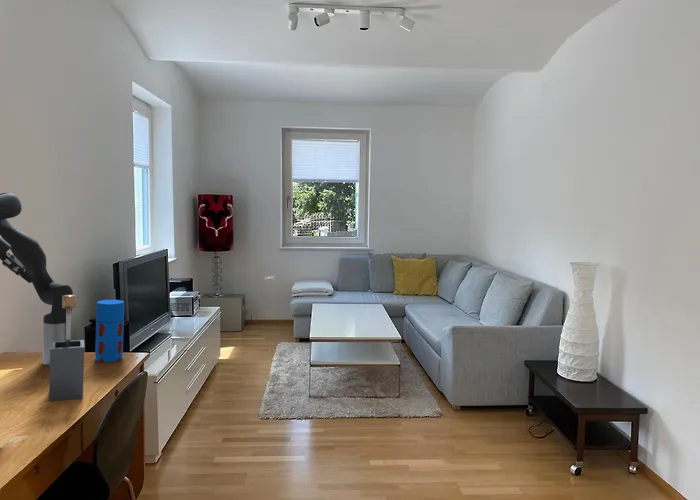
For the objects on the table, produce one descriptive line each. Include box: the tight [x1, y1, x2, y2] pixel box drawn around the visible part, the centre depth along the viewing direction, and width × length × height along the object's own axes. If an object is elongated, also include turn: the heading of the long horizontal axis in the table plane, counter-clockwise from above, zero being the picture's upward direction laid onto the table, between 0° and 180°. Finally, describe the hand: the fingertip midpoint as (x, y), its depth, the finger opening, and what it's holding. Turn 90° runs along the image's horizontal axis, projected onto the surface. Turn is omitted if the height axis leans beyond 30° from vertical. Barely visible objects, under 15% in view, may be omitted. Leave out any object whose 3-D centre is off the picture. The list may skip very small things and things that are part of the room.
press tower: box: [48, 339, 85, 403], centre depth 170 cm, size 10×10×18 cm
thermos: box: [94, 299, 125, 363], centre depth 212 cm, size 11×11×25 cm
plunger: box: [62, 294, 77, 347], centre depth 169 cm, size 7×7×26 cm
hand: (31, 279), depth 161 cm, fingers open, 8 cm apart
